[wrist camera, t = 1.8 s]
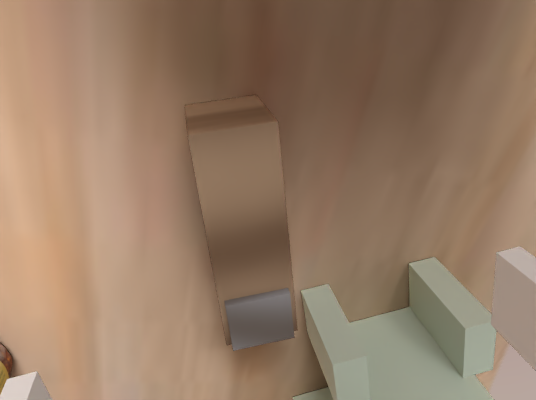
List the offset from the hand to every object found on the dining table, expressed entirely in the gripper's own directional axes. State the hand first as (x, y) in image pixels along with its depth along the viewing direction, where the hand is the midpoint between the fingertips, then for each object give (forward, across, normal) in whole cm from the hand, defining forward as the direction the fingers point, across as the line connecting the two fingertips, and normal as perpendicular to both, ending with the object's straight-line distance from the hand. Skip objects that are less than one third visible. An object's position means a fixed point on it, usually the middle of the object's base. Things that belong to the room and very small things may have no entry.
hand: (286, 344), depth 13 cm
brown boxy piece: (+15, 0, -2) cm, 16 cm away
